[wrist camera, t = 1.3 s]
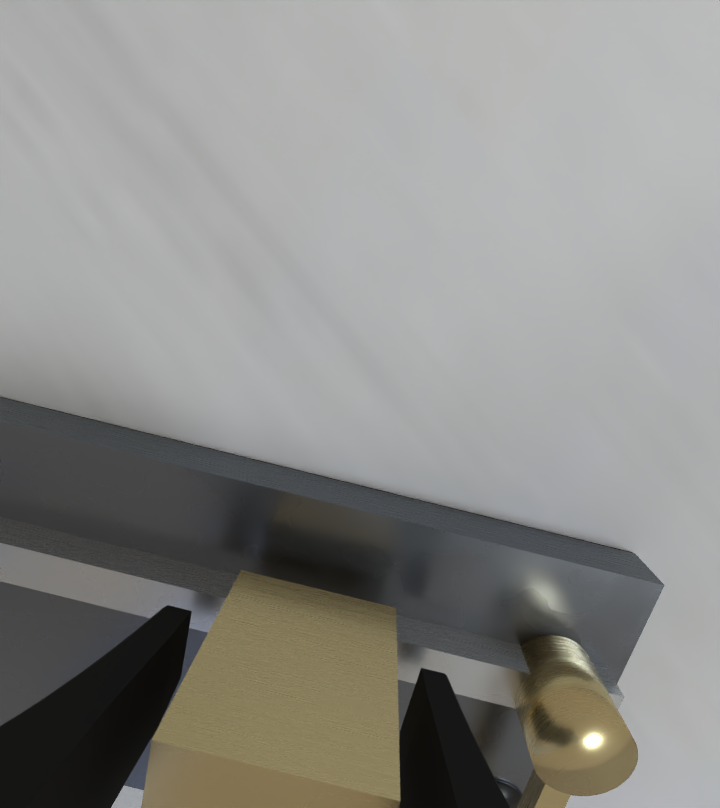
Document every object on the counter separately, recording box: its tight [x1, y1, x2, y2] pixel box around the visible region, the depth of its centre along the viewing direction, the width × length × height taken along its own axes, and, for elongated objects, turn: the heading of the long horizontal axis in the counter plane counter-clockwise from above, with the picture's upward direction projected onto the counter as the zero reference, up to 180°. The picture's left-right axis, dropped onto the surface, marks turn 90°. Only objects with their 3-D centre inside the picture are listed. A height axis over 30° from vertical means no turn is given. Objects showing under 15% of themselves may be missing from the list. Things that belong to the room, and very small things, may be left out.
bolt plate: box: [0, 397, 664, 808], centre depth 13 cm, size 12×20×4 cm, turn 77°
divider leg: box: [141, 570, 400, 808], centre depth 11 cm, size 8×4×5 cm, turn 167°
